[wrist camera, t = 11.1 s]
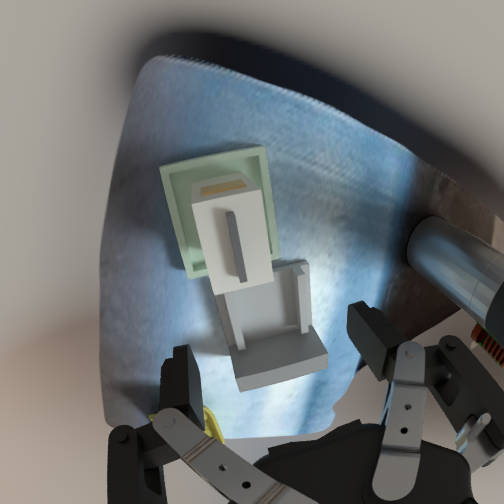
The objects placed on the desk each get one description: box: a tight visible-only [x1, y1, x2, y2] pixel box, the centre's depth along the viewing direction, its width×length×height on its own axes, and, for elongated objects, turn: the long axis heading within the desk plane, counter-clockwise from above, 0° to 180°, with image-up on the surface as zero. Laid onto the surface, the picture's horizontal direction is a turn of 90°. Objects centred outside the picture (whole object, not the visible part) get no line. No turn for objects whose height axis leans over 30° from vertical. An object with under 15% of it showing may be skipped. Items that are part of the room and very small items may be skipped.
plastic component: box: [148, 405, 225, 444], centre depth 43 cm, size 20×7×10 cm
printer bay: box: [214, 260, 328, 392], centre depth 35 cm, size 12×13×7 cm
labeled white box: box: [191, 172, 274, 295], centre depth 26 cm, size 5×8×10 cm, turn 9°
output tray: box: [159, 145, 280, 280], centre depth 30 cm, size 11×13×2 cm
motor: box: [471, 322, 504, 370], centre depth 47 cm, size 10×9×20 cm
